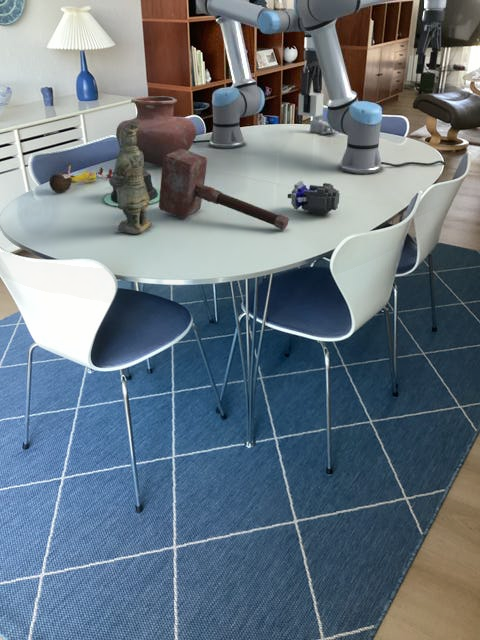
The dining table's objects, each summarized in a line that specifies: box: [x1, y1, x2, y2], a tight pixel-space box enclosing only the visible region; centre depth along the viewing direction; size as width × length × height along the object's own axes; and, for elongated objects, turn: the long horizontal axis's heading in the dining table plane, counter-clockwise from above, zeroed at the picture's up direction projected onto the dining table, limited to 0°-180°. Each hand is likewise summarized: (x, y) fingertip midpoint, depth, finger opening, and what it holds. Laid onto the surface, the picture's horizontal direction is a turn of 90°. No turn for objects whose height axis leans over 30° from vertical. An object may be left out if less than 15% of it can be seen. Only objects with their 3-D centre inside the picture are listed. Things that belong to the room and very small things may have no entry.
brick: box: [297, 91, 325, 118], centre depth 228 cm, size 6×8×8 cm
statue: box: [108, 121, 153, 235], centre depth 154 cm, size 11×9×30 cm
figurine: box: [48, 164, 113, 193], centre depth 199 cm, size 13×8×25 cm
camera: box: [309, 105, 337, 135], centre depth 263 cm, size 9×12×15 cm
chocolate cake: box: [103, 168, 160, 207], centre depth 186 cm, size 15×19×20 cm
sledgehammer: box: [158, 149, 290, 231], centre depth 163 cm, size 17×10×40 cm
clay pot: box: [115, 95, 197, 166], centre depth 218 cm, size 30×30×25 cm
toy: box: [287, 180, 341, 216], centre depth 168 cm, size 9×9×15 cm
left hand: (310, 111), depth 229 cm, fingers closed on brick, 6 cm apart
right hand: (425, 71), depth 216 cm, fingers open, 13 cm apart
